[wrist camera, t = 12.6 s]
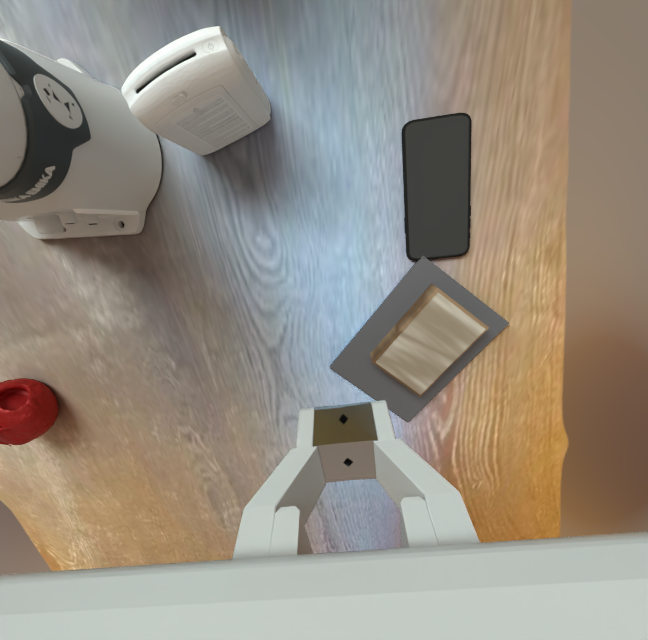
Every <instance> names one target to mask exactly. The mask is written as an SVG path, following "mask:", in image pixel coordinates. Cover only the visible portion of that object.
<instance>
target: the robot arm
mask: <svg viewBox="0 0 648 640" xmlns="http://www.w3.org/2000/svg"><path fill="white" fill-rule="evenodd" d="M161 171H162V159H161V151H160V146H159V142H158V139H157V136H156V134H155V133H153V132H152V131H150V130H149V129H147V128H146V127H145V126H144V125H143V124H142V123H141V122H140V121H139V120H138V119H137V118H136V117H135V116H134V114H133V113H132V112H131V111H130V109H129V106H128V103H127V101H126V99H125V98H124V96H123V95H122V91H120V90H118V89H116V88H114V87H112V86H110V85H107V84H104V83H102V82H99V81H97V80H95V79H93V78H92V77H91V76H90V75H89V74H88V73H87V72H86V71H85V70H84V69H83V68H81V67H80V66H79V65H77V64H76V63H74V62H72V61H70V60H67V59H65V58H61V59H58V60H57V61H54V60H52V59H50V58H48V57H45V56H43V55H41V54H39V53H36V52H34V51H32V50H29V49H27V48H25V47H23V46H20V45H18V44H16V43H13V42H11V41H9V40H6V39H0V219H1V220H5V221H17V222H18V223H19V225H20V226H21V227H22V228H23V229H24V230H25V231H27V232H28V233H29V234H30V235H31V236H33V237H34V238H36V239H63V238H80V237H97V236H115V235H132V234H139V233H140V232H141V231H142V229H143V227H144V222H145V215H146V210H147V207H148V205H149V204H150V202H151V200H152V199H153V197H154V195H155V194H156V191H157V189H158V186H159V183H160V178H161ZM122 222H123V223H124V227H123V226H122ZM376 478H377V481H378V482H379V483H380V485H381V486H382V487H383V489H384V490H385V491H386V493H387V494H388V495H389V496H390V498H391V499H392V500H393V502H394V503H395V504H396V506H397V507H398V508H399V510H400V511H401V548H393V549H377V550H362V551H348V552H333V553H318V554H313V551H312V548H311V545H310V542H309V538H308V535H307V532H306V529H305V526H304V525H305V523H306V522H307V520H308V518H309V516H310V514H311V512H312V510H313V508H314V506H315V504H316V502H317V500H318V499H319V497H320V495H321V493H322V491H323V489H324V487H325V485H326V483H327V482H336V481H345V480H358V479H376ZM0 640H648V532H633V533H619V534H604V535H589V536H574V537H558V538H543V539H529V540H514V541H499V542H484V543H480V542H479V539H478V537H477V534H476V532H475V529H474V527H473V524H472V522H471V519H470V517H469V514H468V512H467V509H466V507H465V504H464V502H463V499H462V497H461V495H460V492H459V491H458V490H457V489H455V488H454V487H453V486H452V485H451V484H450V483H449V482H448V481H447V480H446V479H444V478H443V477H442V476H441V475H440V474H439V473H438V472H437V471H436V470H434V469H433V468H432V467H431V466H430V465H429V464H428V463H427V462H426V461H425V460H423V459H422V458H421V457H420V456H419V455H418V454H417V453H416V452H415V451H413V450H412V449H411V448H410V447H409V446H408V445H407V444H406V443H405V442H404V441H402V440H401V439H396V437H395V433H394V430H393V426H392V422H391V418H390V414H389V410H388V406H387V402H386V401H385V400H381V401H372V402H363V403H354V404H345V405H337V406H323V407H314V408H301V409H300V412H299V420H298V430H297V440H296V448H293V449H291V450H290V451H289V452H288V454H287V455H286V456H285V457H284V459H283V460H282V461H281V463H280V464H279V465H278V466H277V468H276V469H275V470H274V471H273V473H272V474H271V475H270V476H269V478H268V479H267V480H266V481H265V483H264V484H263V485H262V486H261V488H260V489H259V490H258V492H257V493H256V494H255V495H254V497H253V498H252V499H251V500H250V502H249V503H248V504H247V505H246V507H245V508H244V511H243V515H242V519H241V524H240V528H239V532H238V537H237V541H236V545H235V549H234V554H233V558H232V559H228V560H214V561H199V562H184V563H169V564H154V565H139V566H124V567H109V568H94V569H79V570H64V571H50V572H33V573H19V574H4V575H0Z"/></svg>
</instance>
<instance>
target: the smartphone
mask: <svg viewBox="0 0 648 640" xmlns="http://www.w3.org/2000/svg"><path fill="white" fill-rule="evenodd" d="M402 154H403V180H404V205H405V218H404V219H405V233H406V253H407V256H408V258H409V259H411V260H416V261H417V260H420V259H421V257H422V256H424V257H426V258H427V259H436V258H446V257H456V256H461V255H464V254H465V253H467V252H468V250H469V240H470V216H471V206H470V176H471V118H470V116H469V115H468V114H466V113H456V114H449V115H443V116H436V117H430V118H424V119H417V120H412V121H409V122H408V123H406V124H405V125H404V127H403V129H402ZM423 259H425V258H423Z"/></svg>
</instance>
